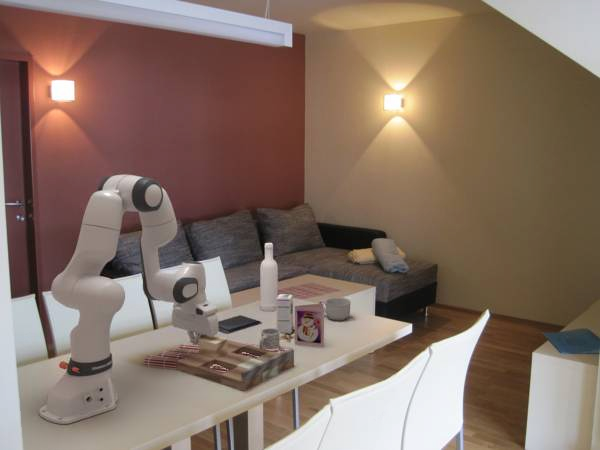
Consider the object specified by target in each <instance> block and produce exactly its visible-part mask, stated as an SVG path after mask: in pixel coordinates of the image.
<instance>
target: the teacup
mask: <svg viewBox="0 0 600 450" xmlns="http://www.w3.org/2000/svg"><path fill="white" fill-rule="evenodd" d="M322 303H323V304H324V305H325V307H323V309H324V314H326V316H327V317H328V318H329V319H330V320H332V321H337V322H339V321H340V322H341V321H344V320H346V319H347V318H349V316H350V314H351V303H352V301H351V300H350V299H349V298H346V297H340V296H336V297H335V296H334V297H329V298H327V299H321V300H319V301H318V304H322Z"/></svg>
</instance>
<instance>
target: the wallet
mask: <svg viewBox="0 0 600 450" xmlns="http://www.w3.org/2000/svg"><path fill="white" fill-rule="evenodd" d="M261 324H263V322H262V321H260V320H258V319H254V318H252V317H251V318H250V317H248V316H246V315H245V316H244V315H241V314H240V315H237V316H232V317H229V318H226V319H222V320H218V333H219V332H220V333H222V334H225V335H229V334H232V333H236V332H239V331H242V330H245V329H249V328H252V327H255V326H258V325H261Z"/></svg>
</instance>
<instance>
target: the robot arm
mask: <svg viewBox="0 0 600 450" xmlns="http://www.w3.org/2000/svg"><path fill="white" fill-rule="evenodd" d="M174 211H175V210H174V208H173V204H172V202H171V200H170V198H169V195H168V193H167V191H166V189H164V188H163V187H162V186H161V184H160V183H159V182H158V181H157V180H155V179H153V178H151V177H147V176H138V175H134V174H116V173H115V174H110V175H107V176H105V177H104V178H102V180H101V181H100V183H99V185H98V187H97V191H95V192H94V193H93V194H91V196H90V198H89V200H88V203H87V205H86V208H85V210H84V214H83V218H82V222H81V226H80V230H79V231H80V232H79V234H78V235H79V236H78V239H77V244H76V247H75V250H74V253H73V255H72V257H71V259H70V261H69V262H68V264H67V265H66V267H65V269H64V270H63V271H62V272H61V273H59V274H57V276H56V277H55V278H54V279H53V281H52V283H51V286H50V287H51V289H50V291H51V296H52V297H53V299H54V300H55V301H57V303H59V304H61V305H62V306H64V307H66V308H69V309H73V310H76V311H78V312H79V319H78V323H77V325H76V326H75V327H73V328H72V329H71V331H70V334H69V340H70V341H69V342H70V357H69V361H68V362H65V361H64V360H62V361H60V362H59V364H58V366H59V368H60V369H62V370H66V372H65V373H64V374H63V375H62V377H61V378H59V380H58V381H57V382H56V383H55V384H54V385H53V386H52V387H51V388H50V390H49V391H48V394H47V402H46V404H45V405H42V407H39V410H38V411H39V412H38V413H39V415H40V417H41V418H43V419H44V420H47V421H48V422H51V423H55V424H61V425H69V424H72V423H74V422H77V421H81V420H84V419H87V418H90V417H93V416H96V415H99V414H103V413H106V412H109V411H112V410H114V409H116V403H117V402H118V400H119V395H118V392H117V389H116V387H115V386H116V385H115V382H114V378H113V376H114V375H113V370H112V368H113V354H112V353H111V326H112V321H113V319H114V317H115V315H116V314H118V312H119V311H120V310H122V307H123V306H124V303H125V300H126V291H125V289H124V287H123V285H122V284H120V283H119V282H117V281H116V280H113V279H112V278H109V277H107V276H106V277H105V276H101V273H102V271H103V269H104V267H105V266H106V264H107V263H109V262H111V261H112V260H113V259H114V258H115V256H116V255H117V254H116V253H117V248H118V245H119V239H120V234H121V229H122V222H123V216H124V214H125V213H126V212H137V213H138V215H139V220H140V224H141V228H142V231H141V232H142V233H141V235H140V236H139V243H138V245H139V253H140V255H139V256H140V260H141V268H142V291H143V293H144V295H145V297H146V298H147V299H149V300H151V301H161V302H166V303H173V305H172V312H171V326H172V327H174V328H178V329H181V330H185V331H187V335H188V337H189V342H190V343H191V344H194V345H197V344H198V345H199V339H200V338H202V337H201V336H203V335H206V336H217V334H218V333H219V331H218V321H219V318H218V315H217V314H216V313H217V312H218V307H217V306H216V305H215V304H213V303H212V302H210V301H209V300H208V299H207V294H206V286H207V280H206V279H207V277H206V270H205V267H204V264H203V263H202V262H199V261H194V260H193V261H192V260H185V261H182V262H181V267H180V268H179V269H178V271H176V273H174V274H173V273H167V272H165V271H163V270H162V269H161V267H160V257H159V251H158V250H159V248H162V247H163V246H166V245H167V244H168V243H170V242H172V241H173V240H174V239H175V237H176V235H177V232H178V223H177V222H178V221H177V217H176V214H175V212H174ZM202 334H203V335H202Z"/></svg>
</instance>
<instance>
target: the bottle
mask: <svg viewBox="0 0 600 450" xmlns="http://www.w3.org/2000/svg"><path fill="white" fill-rule="evenodd" d="M260 263H261V264H260V266H259V268H260V269H259V272H260V273H259V275H260V277H259V281H260V289H259V290H260V295H259V296H260V303H259V305H260V306H259V307H260V310H261V311H264V312H275V311H277V301H276V298H277V297H278V296H279V284H278V283H279V280H278V279H279V275H278V274H279V273H278V271H279V269H278V267H279V266H278V263H277V261H276V259H274V244H273V243H272V242H266V243H264V259H263V260H262V261H261V262H260Z"/></svg>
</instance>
